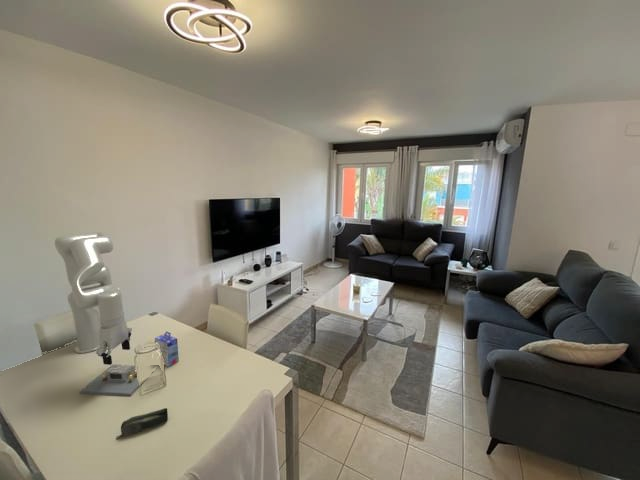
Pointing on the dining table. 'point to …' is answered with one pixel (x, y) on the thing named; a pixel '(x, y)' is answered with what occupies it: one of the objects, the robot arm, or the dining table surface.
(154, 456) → the dining table surface
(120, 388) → the pin tray
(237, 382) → the dining table surface
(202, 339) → the dining table surface
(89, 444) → the dining table surface
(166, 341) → the ink cartridge box
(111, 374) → the block
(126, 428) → the mobile phone
